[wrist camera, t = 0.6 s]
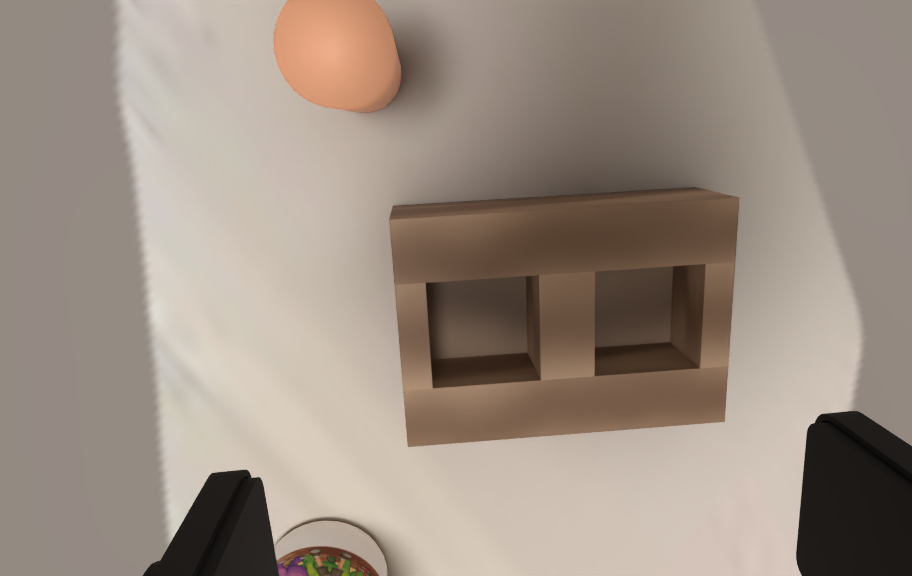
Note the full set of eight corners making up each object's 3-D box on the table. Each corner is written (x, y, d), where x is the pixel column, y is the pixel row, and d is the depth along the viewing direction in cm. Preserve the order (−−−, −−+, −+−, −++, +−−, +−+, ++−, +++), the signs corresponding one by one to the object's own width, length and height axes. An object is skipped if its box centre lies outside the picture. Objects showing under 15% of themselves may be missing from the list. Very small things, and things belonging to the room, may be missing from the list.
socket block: (393, 205, 34) (389, 219, 29) (694, 187, 35) (739, 197, 30) (408, 405, 37) (407, 446, 33) (685, 383, 38) (724, 421, 33)
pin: (320, 33, 32) (266, -17, 20) (398, 30, 32) (389, -22, 20) (328, 114, 33) (281, 111, 21) (404, 110, 33) (398, 105, 22)
